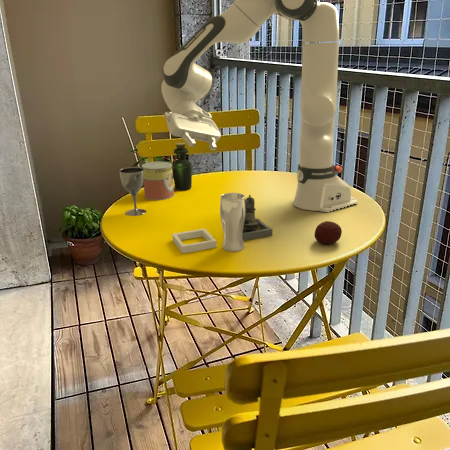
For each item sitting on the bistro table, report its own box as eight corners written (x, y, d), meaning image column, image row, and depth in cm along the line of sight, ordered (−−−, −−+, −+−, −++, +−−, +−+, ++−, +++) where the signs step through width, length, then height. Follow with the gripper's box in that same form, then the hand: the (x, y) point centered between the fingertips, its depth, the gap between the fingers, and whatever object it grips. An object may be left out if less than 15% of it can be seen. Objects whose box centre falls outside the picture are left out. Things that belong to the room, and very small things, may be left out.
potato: (347, 243, 128) (349, 223, 126) (326, 250, 124) (327, 230, 121) (329, 235, 134) (330, 216, 131) (307, 241, 130) (308, 222, 127)
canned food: (165, 201, 166) (162, 169, 162) (138, 198, 170) (135, 167, 166) (179, 192, 176) (177, 162, 172) (154, 190, 180) (151, 160, 176)
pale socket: (204, 234, 136) (204, 228, 135) (216, 247, 127) (216, 240, 126) (172, 240, 133) (172, 233, 132) (182, 253, 124) (182, 246, 123)
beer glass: (220, 242, 130) (218, 193, 124) (244, 241, 130) (243, 191, 125) (222, 253, 124) (220, 200, 118) (247, 251, 124) (247, 199, 118)
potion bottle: (182, 192, 176) (179, 146, 169) (168, 188, 181) (165, 144, 174) (197, 187, 181) (195, 143, 175) (183, 184, 186) (181, 140, 180)
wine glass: (127, 217, 151) (123, 174, 146) (121, 210, 158) (116, 168, 152) (150, 213, 154) (146, 170, 149) (143, 207, 161) (139, 165, 155)
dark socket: (257, 224, 143) (257, 218, 142) (272, 235, 134) (272, 229, 133) (228, 229, 139) (228, 223, 139) (241, 241, 131) (241, 234, 130)
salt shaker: (259, 228, 139) (260, 191, 135) (259, 236, 134) (259, 197, 129) (240, 228, 140) (240, 191, 135) (239, 236, 134) (238, 197, 130)
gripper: (167, 103, 142) (184, 136, 137) (214, 114, 157) (230, 144, 151) (157, 117, 146) (173, 149, 140) (203, 127, 160) (219, 157, 155)
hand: (203, 147), depth 146 cm, fingers open, 8 cm apart
